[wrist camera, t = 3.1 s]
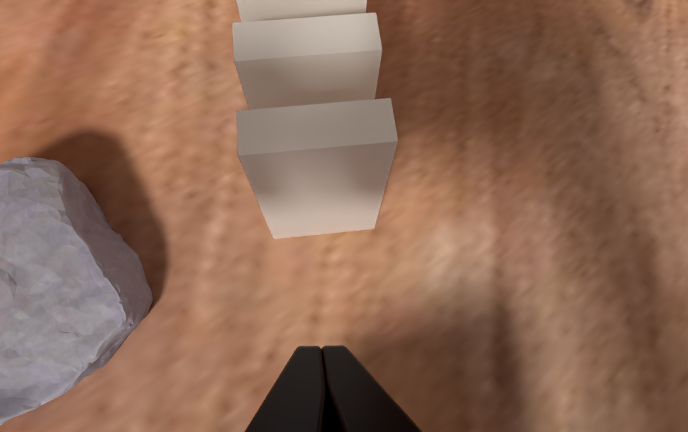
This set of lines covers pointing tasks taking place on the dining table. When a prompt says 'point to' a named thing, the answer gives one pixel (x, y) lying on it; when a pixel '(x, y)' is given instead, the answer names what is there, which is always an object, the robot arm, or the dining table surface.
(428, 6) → the dining table surface
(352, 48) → the domino
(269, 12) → the domino
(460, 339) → the dining table surface
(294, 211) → the domino
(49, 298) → the stone block
